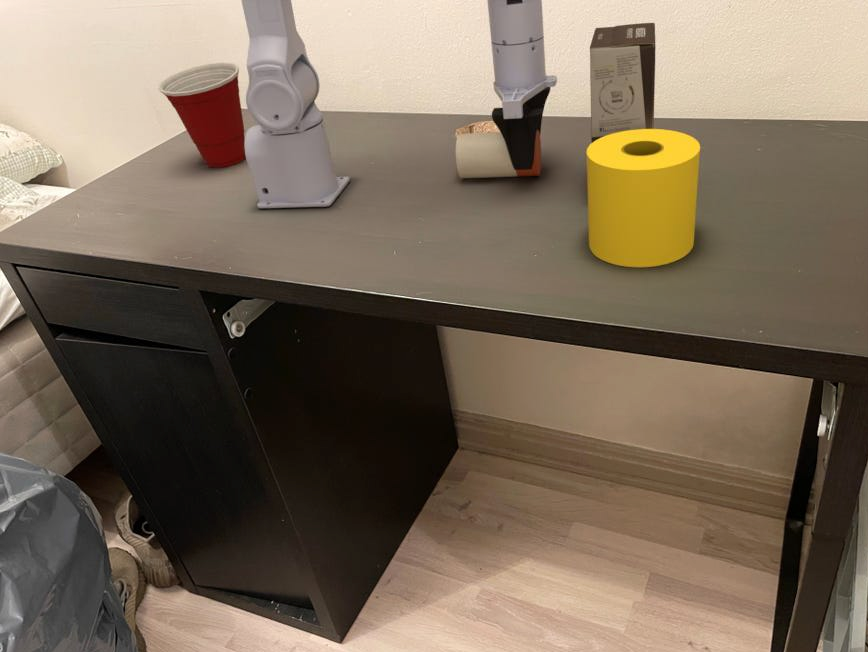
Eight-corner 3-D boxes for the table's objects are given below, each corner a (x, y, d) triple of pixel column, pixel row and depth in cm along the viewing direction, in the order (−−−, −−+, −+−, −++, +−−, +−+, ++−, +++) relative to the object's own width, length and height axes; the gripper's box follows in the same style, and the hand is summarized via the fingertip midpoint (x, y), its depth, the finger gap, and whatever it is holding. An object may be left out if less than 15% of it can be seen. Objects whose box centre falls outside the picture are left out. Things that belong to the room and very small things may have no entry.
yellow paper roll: (691, 269, 67) (697, 170, 61) (581, 265, 70) (578, 170, 64) (696, 220, 75) (702, 128, 69) (597, 218, 77) (595, 129, 72)
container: (467, 168, 93) (542, 165, 91) (459, 185, 89) (537, 182, 87) (462, 127, 90) (539, 123, 88) (453, 143, 86) (534, 139, 84)
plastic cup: (171, 174, 103) (138, 86, 96) (219, 145, 111) (192, 62, 104) (232, 177, 99) (203, 86, 92) (278, 148, 107) (254, 62, 100)
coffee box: (651, 201, 79) (655, 42, 70) (591, 202, 81) (587, 47, 71) (652, 168, 86) (656, 20, 77) (597, 169, 88) (594, 24, 78)
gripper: (547, 53, 73) (554, 182, 81) (560, 20, 85) (565, 136, 93) (477, 58, 75) (491, 184, 83) (499, 24, 86) (509, 138, 94)
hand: (526, 159), depth 88 cm, fingers closed on container, 5 cm apart
